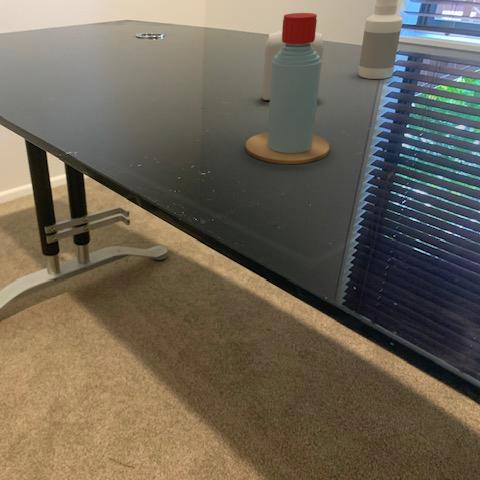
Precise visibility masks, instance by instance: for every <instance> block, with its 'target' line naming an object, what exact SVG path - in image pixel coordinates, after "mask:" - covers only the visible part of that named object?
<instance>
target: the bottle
mask: <svg viewBox="0 0 480 480" xmlns="http://www.w3.org/2000/svg"><path fill="white" fill-rule="evenodd" d="M320 68H321V69H322V66H321V59H320V56H319V55H318V54H317V52H316V51H314V48H313V47H311V44H310V43H307V44H285V47H283V48H281V51H279V52H278V53H277V55H275V56H274V59H273V60H272V70H271V87H270V100H269V105H268V122H267V132H268V138H267V146H268V148H270V149H271V150H273V151H276V152H281V153H301V152H305V151H308V150H310V149H311V148H312V143H313V135H315V134H314V133H315V122H316V113H317V103H318V98H317V96H318V97H319V91H318V87H319V88H320V82H319V78H320V79H321V74H320Z"/></svg>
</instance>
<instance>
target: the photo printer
mask: <svg viewBox="0 0 480 480" xmlns="http://www.w3.org/2000/svg"><path fill="white" fill-rule="evenodd" d="M285 44H287V43H284V42H282V30H279V31H275V32H272V33H270V34H268V38H267V41H266V43H265V48H264V62H263V63H264V64H263V78H262V79H263V81H262V94H261V95H262V97H261V98H262V99H263V100H264V101H270V87H271V70H272V60H273V59H274V56H275V55H277V53H278V52H279V51H281V48H283V47H285ZM310 44H311V47H313V48H314V51H316V52H317V54H318V55H319V56H320V59H321V68H320V75H321V72H322V65H323V57H324V56H323V55H324V50H325V49H324V39H323V34H322V33H320V32H318V31H316V33H315V40H314V42H312V43H310ZM320 82H321V77H320V78H319V83H320ZM319 89H320V86H319V87H318V92H319ZM318 97H319V95H318V96H317V99H318Z"/></svg>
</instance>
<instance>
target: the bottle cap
mask: <svg viewBox="0 0 480 480" xmlns="http://www.w3.org/2000/svg"><path fill="white" fill-rule="evenodd" d="M317 17H318V15H317V14H316V13H313V12H312V13H311V12H297V13H296V12H292V13H287V14H284V15H283V19H282V29H281V31H282V42H284V43H287V44H307V43H312V42H314V40H315V33H316V32H317V30H316V29H317V21H318V19H317Z"/></svg>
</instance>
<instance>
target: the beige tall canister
mask: <svg viewBox="0 0 480 480" xmlns="http://www.w3.org/2000/svg"><path fill="white" fill-rule="evenodd" d="M398 3H399V0H376V1H375V4H374V5H375V6H374V12H373V14H371V15H370V16H368V17H367V18H366V19H365V24H364V28H363V29H364V30H363V36H362V42H361V43H362V45H361V51H360V58H359V64H358V65H359V66H358V70H357V71H358V72H357V75H358V76H359V77H361V78H364V79H369V80H385V79H389V78H391V77H393V74H394V68H395V64H396V59H397V53H398V47H399V42H400V38H401V37H400V36H401V30H402V25H403V18H402V17H401V16H400V15H398V13H397V12H398V11H397V10H398Z"/></svg>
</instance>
